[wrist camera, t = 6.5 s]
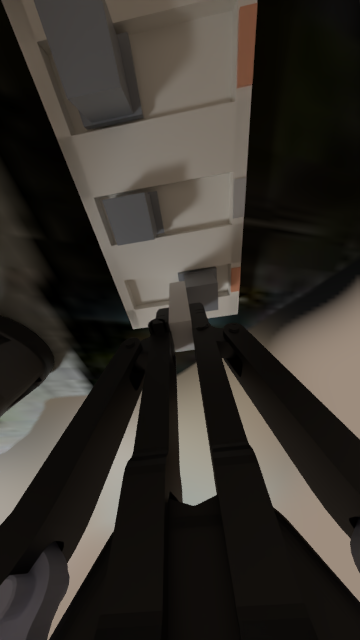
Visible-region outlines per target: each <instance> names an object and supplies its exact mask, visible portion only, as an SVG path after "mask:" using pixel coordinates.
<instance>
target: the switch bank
mask: <svg viewBox="0 0 360 640" xmlns="http://www.w3.org/2000/svg"><path fill="white" fill-rule="evenodd" d="M1 1H2V3H3V6H4V8H5V11H6V13H7V16H8V18H9V21H10V23H11V26H12V28H13V31H14V33H15V36H16V38H17V41H18V43H19V46H20V48H21V50H22V53H23V55H24V58H25V60H26V63H27V65H28V68H29V70H30V73H31V75H32V78H33V80H34V83H35V85H36V88H37V90H38V93H39V95H40V98H41V100H42V103H43V105H44V108H45V110H46V113H47V115H48V118H49V120H50V123H51V125H52V128H53V130H54V133H55V135H56V138H57V140H58V143H59V145H60V148H61V150H62V153H63V155H64V158H65V160H66V163H67V165H68V168H69V170H70V173H71V175H72V178H73V180H74V183H75V185H76V188H77V190H78V193H79V195H80V198H81V200H82V203H83V205H84V208H85V210H86V213H87V215H88V218H89V220H90V223H91V225H92V228H93V230H94V233H95V235H96V238H97V240H98V243H99V245H100V248H101V250H102V253H103V255H104V258H105V260H106V263H107V265H108V267H109V270H110V272H111V275H112V277H113V280H114V282H115V285H116V287H117V290H118V292H119V295H120V297H121V300H122V302H123V305H124V307H125V310H126V312H127V315H128V317H129V320H130V322H131V325H132V327H133V329H138V328H144V327H148V323H149V322H150V321H151V320H153V319H156V312H157V311H158V310H159V309H162V308H168V307H169V283H174V282H179V279H178V272H184V271H190V270H196V269H203V268H209V267H216V268H217V282H218V310H213V311H207V312H206V315H207V318H213V317H220V316H227V315H234V314H238V301H239V288H240V272H241V253H242V237H243V221H244V209H245V193H246V173H247V157H248V141H249V125H250V109H251V93H252V83H253V67H254V51H255V35H256V19H257V0H105V1H106V4H107V7H108V10H109V13H110V16H111V19H112V22H113V25H114V28H115V31H116V34H120V33H124V32H128V36H129V40H130V45H131V50H132V56H133V61H134V67H135V72H136V78H137V83H138V89H139V94H140V100H141V105H142V111H143V116H144V118H141V119H137V120H132V121H127V122H123V123H118V124H113V125H108V126H104V127H99V128H94V129H89V130H87V129H86V128H85V127H84V126H83V123H82V120H81V117H80V114H79V111H78V109H77V108H76V107H75V106H74V105H73V104H72V103H71V102H70V101H69V100H68V99H67V97H66V94H65V91H64V88H63V85H62V82H61V79H60V76H59V73H58V70H57V67H56V65H55V62H54V59H53V56H52V53H51V50H50V47H49V44H48V41H47V38H46V35H45V32H44V30H43V27H42V24H41V21H40V18H39V15H38V12H37V9H36V6H35V3H34V0H1ZM153 191H157V193H158V199H159V204H160V210H161V215H162V221H163V226H164V233H160V234H157V235H156V237H155V239H154V240H148V241H143V242H137V243H131V244H125V245H119V246H118V245H117V242H116V240H115V237H114V234H113V231H112V228H111V225H110V222H109V219H108V216H107V213H106V210H105V207H104V205H103V202H102V200H106V199H111V198H116V197H122V196H127V195H132V194H138V193H143V192H145V193H148V192H153Z"/></svg>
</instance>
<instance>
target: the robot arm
mask: <svg viewBox="0 0 360 640" xmlns="http://www.w3.org/2000/svg"><path fill="white" fill-rule="evenodd" d="M148 328H149V331H150V334H151V336H150V337H149V338H147V339H144V340H142V341H140V340H139V339H138V338H130V339H127V340H125V341H124V342H123V343H122V344H121V345H120V347H119V349H118V350H117V352H116V353H115V355H114V356H113V358H112V359H111V361H110V362H109V364H108V365H107V367H106V369H105V370H104V372H103V373H102V375H101V376H100V378H99V379H98V381H97V382H96V384H95V385H94V387H93V388H92V390H91V392H90V393H89V395H88V396H87V398H86V399H85V401H84V402H83V404H82V406H81V407H80V408H79V410H78V412H77V413H76V415H75V416H74V418H73V419H72V421H71V422H70V424H69V426H68V427H67V429H66V430H65V431H64V433H63V435H62V436H61V438H60V439H59V441H58V442H57V444H56V445H55V447H54V448H53V450H52V451H51V453H50V455H49V456H48V458H47V459H46V461H45V462H44V464H43V465H42V467H41V468H40V470H39V471H38V473H37V474H36V476H35V478H34V479H33V481H32V482H31V484H30V485H29V487H28V488H27V490H26V491H25V493H24V494H23V496H22V498H21V499H20V501H19V502H18V504H17V505H16V507H15V508H14V510H13V511H12V513H11V514H10V515H9V516H8V517H7V518H6V519H5V521H4V522H3V523H2V524H1V525H0V640H47V637H48V633H49V630H50V626H51V623H52V620H53V618H54V615H55V613H56V611H57V609H58V606H59V604H60V602H61V601H62V599H63V597H64V596H65V594H66V591H67V588H68V585H69V574H68V566H67V563H68V561H69V559H70V558H71V556H72V554H73V552H74V551H75V549H76V547H77V545H78V543H79V541H80V539H81V537H82V535H83V533H84V531H85V529H86V527H87V525H88V523H89V520H90V518H91V516H92V513H93V511H94V509H95V506H96V504H97V501H98V499H99V496H100V494H101V491H102V489H103V486H104V484H105V481H106V479H107V476H108V474H109V471H110V469H111V466H112V464H113V461H114V459H115V456H116V454H117V451H118V449H119V446H120V444H121V441H122V438H123V436H124V433H125V431H126V428H127V426H128V423H129V421H130V418H131V416H132V413H133V411H134V408H135V406H136V403H137V401H138V398H139V396H140V393H141V391H142V397H141V404H140V410H139V418H138V424H137V431H136V437H135V444H134V451H133V455H132V458H131V459H130V460H129V461H128V463H127V465H126V467H125V472H124V476H123V481H122V488H121V494H120V499H119V506H118V511H117V517H116V522H115V528H114V532H113V533H112V534H111V536H110V538H109V539H108V541H107V542H106V544H105V546H104V548H103V549H102V551H101V553H100V554H99V556H98V558H97V559H96V561H95V563H94V564H93V566H92V568H91V570H90V571H89V573H88V575H87V576H86V578H85V580H84V582H83V583H82V585H81V586H80V588H79V590H78V591H77V593H76V595H75V597H74V598H73V600H72V602H71V603H70V605H69V607H68V608H67V610H66V612H65V614H64V615H63V617H62V619H61V620H60V622H59V624H58V625H57V627H56V629H55V630H54V632H53V634H52V635H51V637H50V639H49V640H360V602H359V601H358V600H357V598H356V597H355V596H354V595H353V594H352V593H351V592H350V591H349V589H348V588H347V587H346V586H345V585H344V584H343V582H342V581H341V580H340V579H339V578H338V577H337V576H336V574H335V573H334V572H333V571H332V570H331V569H330V568H329V567H328V565H327V564H326V563H325V562H324V561H323V560H322V559H321V557H320V556H319V555H318V554H317V553H316V552H315V551H314V550H313V548H312V547H311V546H310V545H309V544H308V542H307V541H306V540H305V539H304V538H303V537H302V536H301V535H300V534H299V532H298V531H297V530H296V529H295V528H294V527H293V526H292V524H291V523H290V522H289V521H288V520H287V519H286V518H285V517H284V516H283V515H282V514H281V513H280V512H279V511H277V510H276V509H275V508H273V506H272V503H271V500H270V497H269V494H268V491H267V488H266V485H265V482H264V479H263V476H262V473H261V470H260V467H259V464H258V461H257V458H256V455H255V453H254V451H253V449H252V448H251V446H250V445H249V443H248V441H247V438H246V435H245V431H244V429H243V425H242V422H241V419H240V416H239V412H238V409H237V406H236V403H235V400H234V397H233V394H232V390H231V387H230V384H229V381H228V377H227V374H226V371H225V368H224V365H223V362H222V358H224V360H225V362H226V363H227V365H228V366H229V368H230V369H231V371H232V372H233V374H234V375H235V377H236V378H237V380H238V381H239V383H240V384H241V386H242V387H243V389H244V390H245V392H246V393H247V395H248V396H249V398H250V399H251V400H252V402H253V404H254V405H255V407H256V408H257V410H258V411H259V412H260V414H261V415H262V417H263V418H264V420H265V421H266V423H267V424H268V426H269V427H270V429H271V430H272V431H273V433H274V435H275V436H276V438H277V439H278V441H279V442H280V444H281V445H282V447H283V448H284V450H285V451H286V453H287V454H288V456H289V457H290V459H291V460H292V462H293V463H294V464H295V466H296V467H297V469H298V470H299V472H300V473H301V475H302V476H303V478H304V479H305V481H306V482H307V484H308V485H309V487H310V488H311V490H312V491H313V493H314V494H315V495H316V496H317V498H318V499H319V501H320V502H321V503H322V505H323V506H324V508H325V509H326V510H327V511H328V513H329V514H330V515H331V516H332V518H333V519H334V520H335V521H336V522H337V524H338V525H339V526H340V527H341V528H342V530H343V531H344V532H345V533H346V534H347V535H348V536H349V537H350V538H351V542H350V545H351V553H352V556H353V559H354V562H355V565H356V566H357V569H358V571H359V572H360V439H358V437H356V436H355V435H354V434H353V433H352V432H351V431H350V430H349V429H348V428H347V427H346V426H345V425H344V424H343V423H342V422H341V421H340V420H339V419H338V418H337V417H336V416H335V415H334V414H333V413H332V412H331V411H329V409H328V408H327V407H326V406H325V405H323V404H322V402H320V401H319V400H318V399H317V398H316V397H315V396H314V395H313V394H312V393H311V392H310V391H309V390H308V389H307V388H306V387H305V386H304V385H303V384H302V383H301V382H300V381H299V380H298V379H297V378H296V377H295V376H294V375H293V374H292V373H291V372H290V371H289V370H287V369H286V368H285V367H284V366H283V365H282V364H281V363H280V362H279V361H278V360H277V359H276V358H275V357H274V356H273V355H272V354H271V353H270V352H269V351H268V350H267V349H266V348H265V347H264V346H263V345H262V344H261V343H260V342H259V341H258V340H257V339H256V338H255V337H254V336H253V335H252V334H251V333H249V332H248V331H247V330H246V329H245V328H244V327H243V326H242V325H240V324H237V323H229V324H227V325H225V326H224V328H215V327H213V326H211V325H210V323H209V322H208V319H207V315H206V312H205V309H204V306H203V304H201V303H200V302H199V303H192V304H188V298H187V292H186V286H185V281H180V282H174V283H169V307H168V308H162V309H159V310H158V311H157V312H156V319H153V320H151V321H150V322H149V323H148ZM194 349H195V355H196V362H197V368H198V375H199V381H200V388H201V394H202V400H203V407H204V413H205V420H206V427H207V433H208V440H209V446H210V453H211V459H212V465H213V472H214V479H215V486H216V492H217V495H216V496H214V497H212V498H210V499H208V500H206V501H204V502H202V503H200V504H198V505H196V506H191V505H188V504H185V503H183V502H182V485H181V477H180V466H179V436H178V408H177V377H176V356H175V352H180V351H187V350H194ZM53 366H54V358H53V355H52V352H51V351H50V349H49V348H48V346H47V345H46V344H45V343H44V342H43V341H42V340H41V339H40V338H39V337H38V336H37V335H36V334H34V333H33V332H32V331H30V330H29V329H27V328H26V327H24V326H22V325H20V324H18V323H16V322H14V321H12V320H10V319H8V318H5V317H2V316H0V417H1V416H2V415H3V414H4V413H5V412H6V411H7V410H9V409H10V408H11V407H12V406H14V405H15V404H16V403H18V402H19V401H20V400H21V399H23V398H24V397H25V396H26V395H28V394H29V393H30V392H31V391H33V390H34V389H35V388H36V387H38V386H39V385H40V384H41V383H42V382H43V381H44V380H45V379H46V377H47V376H48V375H49V373H50V372H51V370H52V369H53ZM142 388H143V390H142Z"/></svg>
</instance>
